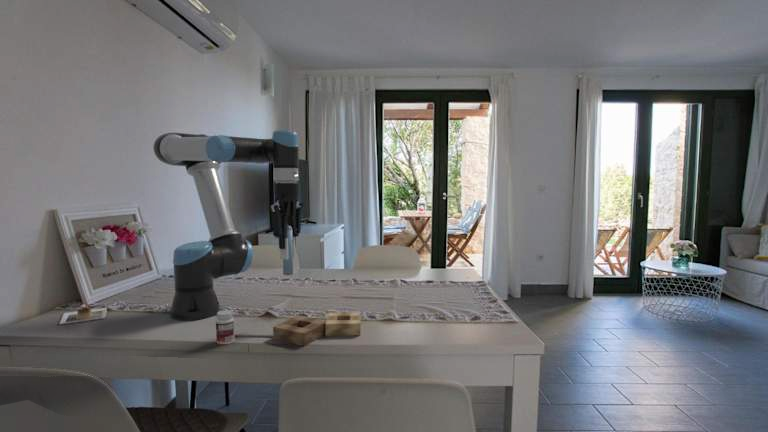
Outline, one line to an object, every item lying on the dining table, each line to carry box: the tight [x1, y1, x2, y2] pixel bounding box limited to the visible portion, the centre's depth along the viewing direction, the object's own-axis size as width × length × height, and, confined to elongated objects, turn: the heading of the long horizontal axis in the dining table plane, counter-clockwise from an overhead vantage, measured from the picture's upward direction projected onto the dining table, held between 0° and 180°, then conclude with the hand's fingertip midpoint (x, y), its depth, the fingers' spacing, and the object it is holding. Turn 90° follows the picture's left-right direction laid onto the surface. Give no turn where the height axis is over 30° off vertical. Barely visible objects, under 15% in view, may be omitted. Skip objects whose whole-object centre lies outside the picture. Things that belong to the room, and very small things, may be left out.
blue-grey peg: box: [282, 225, 294, 276], centre depth 134 cm, size 3×3×16 cm
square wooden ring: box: [272, 315, 326, 347], centre depth 123 cm, size 11×11×4 cm
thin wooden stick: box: [235, 333, 273, 338], centre depth 123 cm, size 16×1×1 cm, turn 88°
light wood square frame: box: [325, 311, 362, 337], centre depth 129 cm, size 10×10×4 cm
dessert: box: [58, 304, 108, 326], centre depth 140 cm, size 12×12×5 cm
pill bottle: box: [215, 309, 236, 345], centre depth 119 cm, size 5×5×8 cm
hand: (287, 257), depth 134 cm, fingers closed on blue-grey peg, 2 cm apart
